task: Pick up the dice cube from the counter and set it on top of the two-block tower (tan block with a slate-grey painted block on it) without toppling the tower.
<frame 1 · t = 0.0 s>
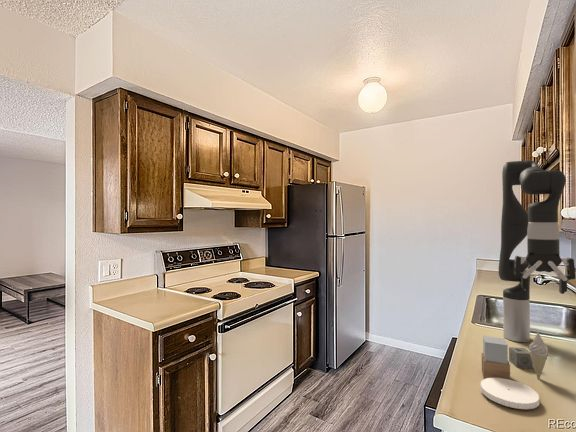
hand: (543, 291, 97), 29 cm above the counter, fingers open, 8 cm apart
ice cream cone: (538, 379, 104), on the counter
dice cube: (520, 365, 114), on the counter
tower top: (495, 358, 105), point 6 cm above the counter, touching tower base
tower base: (495, 377, 105), on the counter, touching tower top
plastic lid: (508, 399, 93), on the counter
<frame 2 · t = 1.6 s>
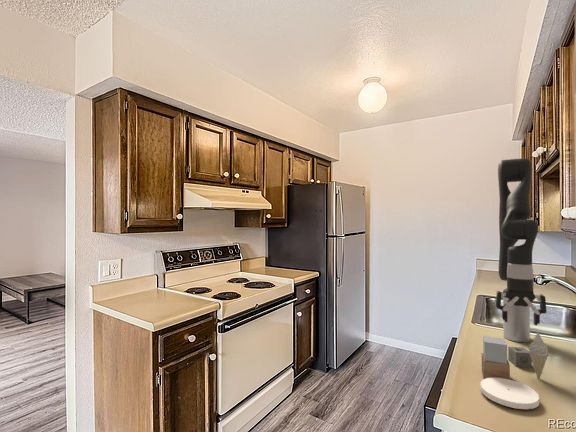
hand: (520, 323, 113), 14 cm above the counter, fingers open, 8 cm apart
nothing on the counter moved.
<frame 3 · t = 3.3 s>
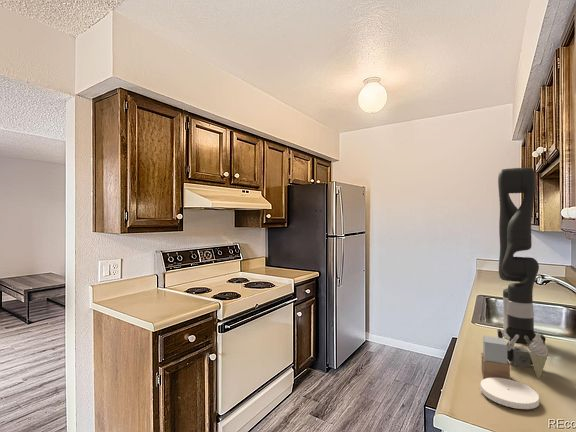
hand: (520, 362, 113), 1 cm above the counter, fingers closed on dice cube, 5 cm apart
dice cube: (519, 363, 114), on the counter, touching gripper
everything else where it was.
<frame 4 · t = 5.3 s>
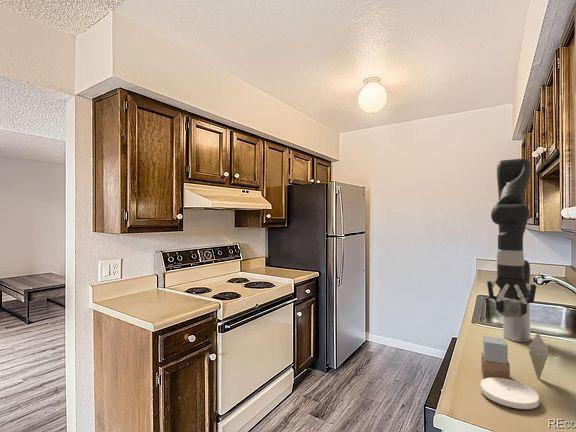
hand: (510, 313, 109), 19 cm above the counter, fingers closed on dice cube, 6 cm apart
dice cube: (509, 315, 110), point 18 cm above the counter, touching gripper
tower top: (495, 358, 105), point 6 cm above the counter
tower base: (495, 377, 105), on the counter
everything else where it was.
when the fingers open (13 cm above the counter, at t = 7.4 s): dice cube stays where it is, resting on tower top.
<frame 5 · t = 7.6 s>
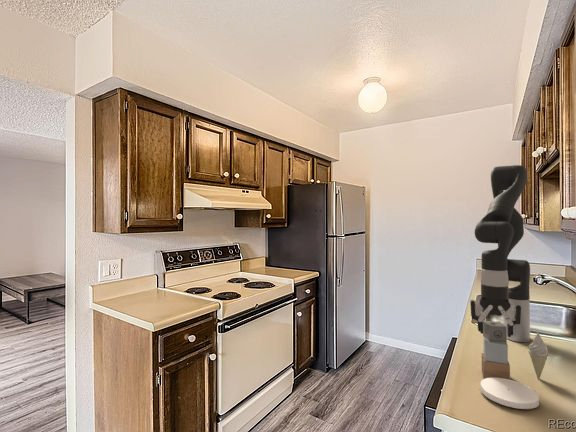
hand: (494, 334, 105), 14 cm above the counter, fingers open, 7 cm apart
dice cube: (494, 339, 106), point 12 cm above the counter, touching tower top
tower top: (495, 358, 105), point 6 cm above the counter, touching dice cube, tower base
tower base: (495, 377, 105), on the counter, touching tower top
everything else where it was.
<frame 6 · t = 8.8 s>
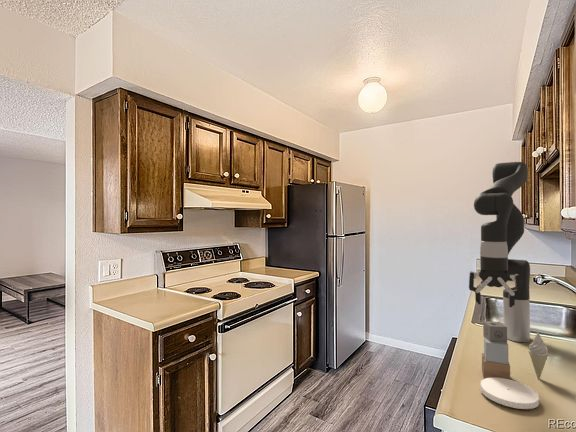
hand: (494, 305, 105), 23 cm above the counter, fingers open, 8 cm apart
nothing on the counter moved.
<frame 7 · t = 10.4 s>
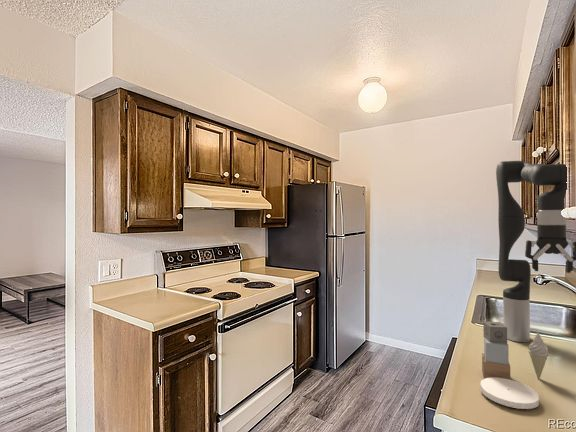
hand: (551, 271, 109), 33 cm above the counter, fingers open, 8 cm apart
nothing on the counter moved.
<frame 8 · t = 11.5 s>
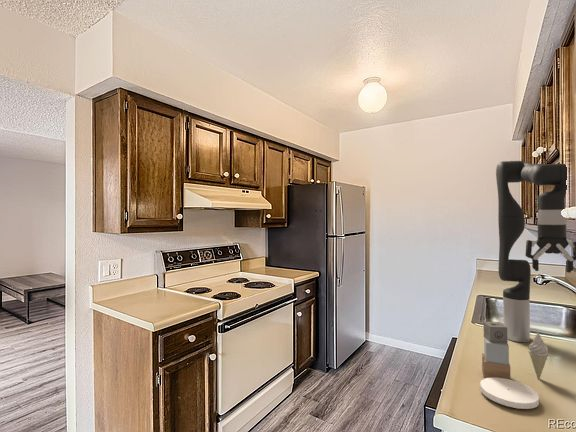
hand: (552, 271, 109), 33 cm above the counter, fingers open, 8 cm apart
nothing on the counter moved.
at the end: dice cube 0.9 cm off-centre on the tower top, point 5.8 cm above the tower top's base; tower top 0.2 cm off-centre on the tower base, point 6.0 cm above the tower base's base; dice cube tilted 0° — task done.
